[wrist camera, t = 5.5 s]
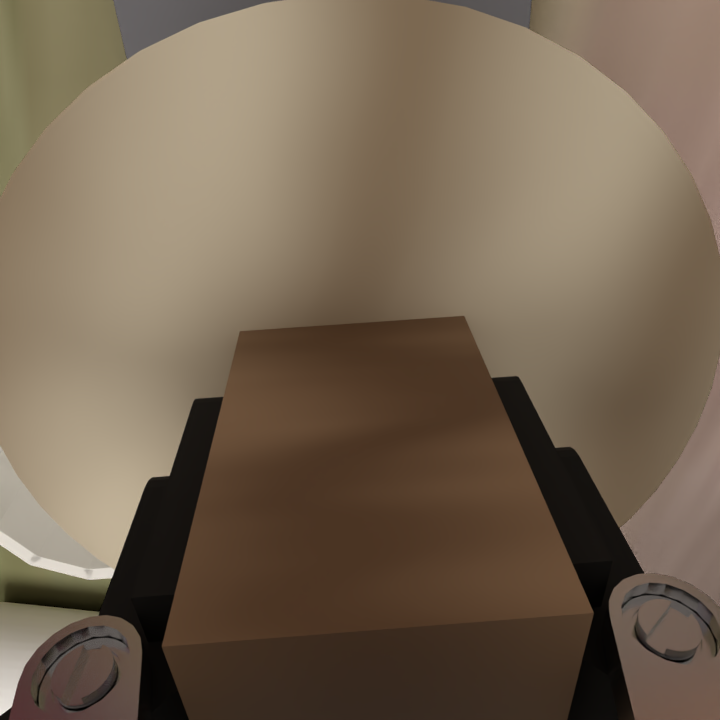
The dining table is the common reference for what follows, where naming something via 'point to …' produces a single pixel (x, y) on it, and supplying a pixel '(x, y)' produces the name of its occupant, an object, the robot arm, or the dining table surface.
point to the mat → (200, 3)
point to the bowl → (40, 532)
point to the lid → (355, 344)
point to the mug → (27, 639)
